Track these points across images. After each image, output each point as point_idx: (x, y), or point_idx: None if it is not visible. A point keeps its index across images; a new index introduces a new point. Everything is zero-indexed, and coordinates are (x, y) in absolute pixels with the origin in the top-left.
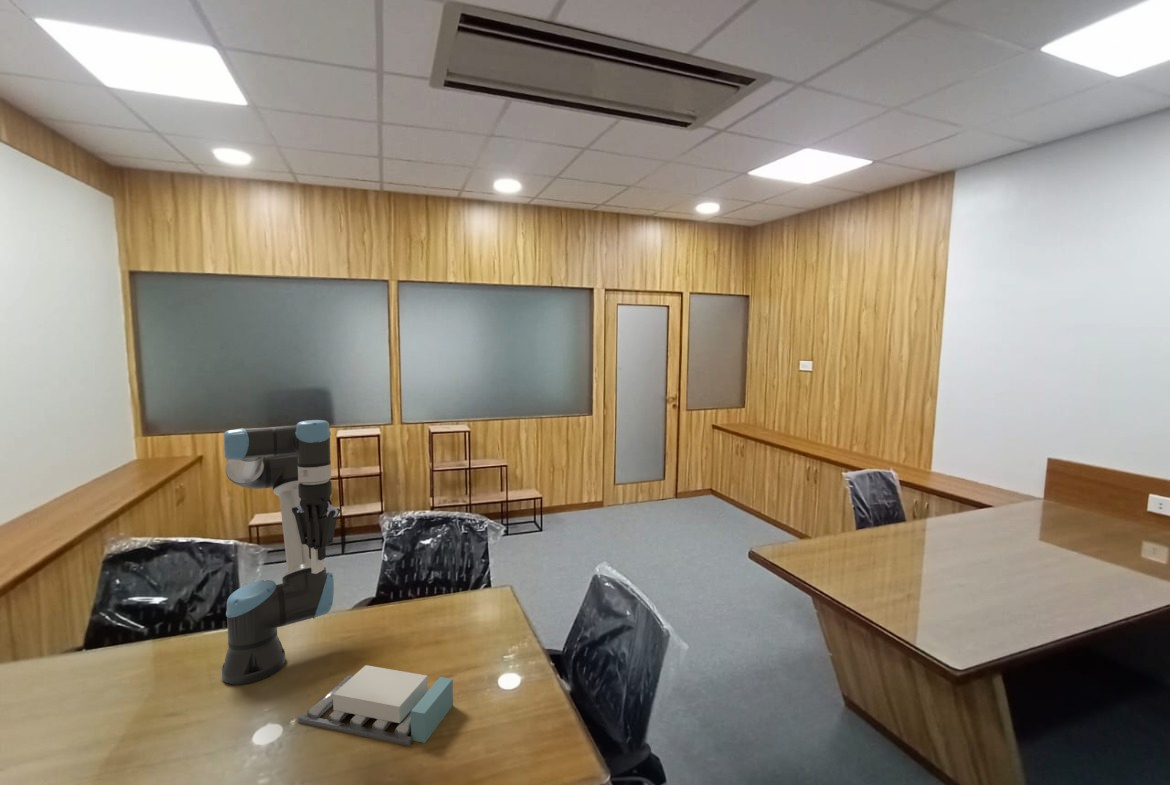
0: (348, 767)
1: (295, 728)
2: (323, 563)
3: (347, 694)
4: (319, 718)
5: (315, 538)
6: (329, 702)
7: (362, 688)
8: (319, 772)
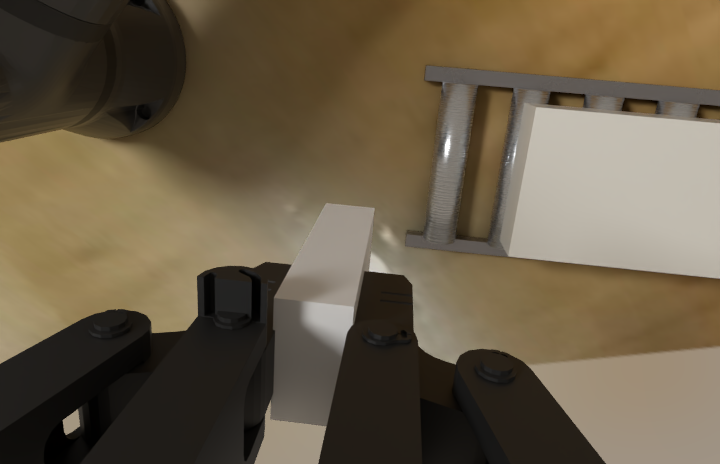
0: (601, 340)
1: (410, 256)
2: (370, 232)
3: (552, 252)
4: (461, 241)
5: (241, 414)
6: (460, 198)
7: (585, 222)
8: (545, 356)
